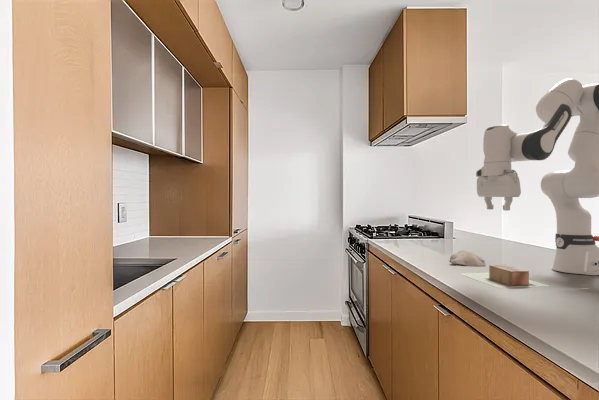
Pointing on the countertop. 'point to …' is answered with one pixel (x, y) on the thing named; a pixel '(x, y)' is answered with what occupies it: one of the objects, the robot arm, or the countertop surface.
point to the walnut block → (509, 275)
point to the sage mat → (485, 279)
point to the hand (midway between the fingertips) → (498, 209)
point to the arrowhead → (467, 259)
